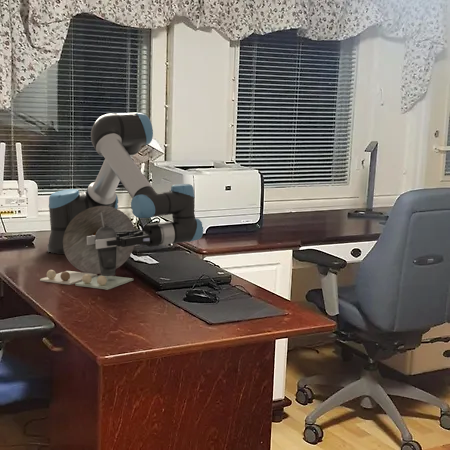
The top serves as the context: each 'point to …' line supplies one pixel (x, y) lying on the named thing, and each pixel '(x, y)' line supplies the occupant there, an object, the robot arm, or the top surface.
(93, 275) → the cream card
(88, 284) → the sage card
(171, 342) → the top surface
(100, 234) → the beverage cup
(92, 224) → the disc
